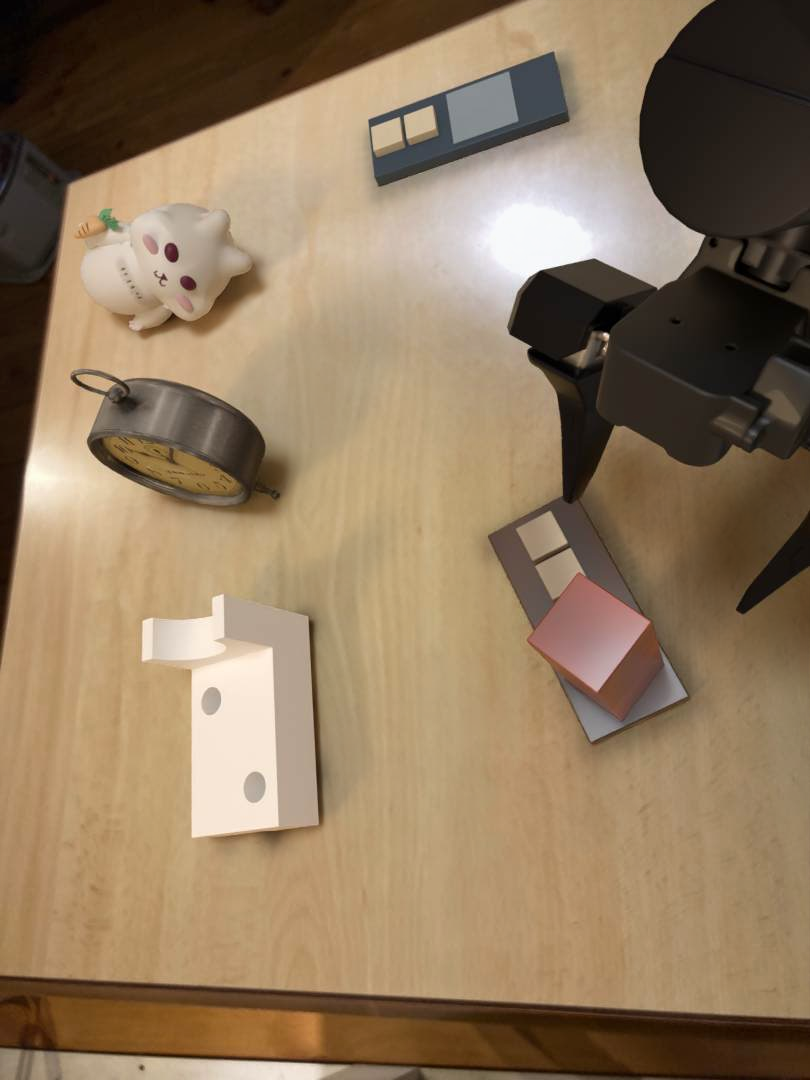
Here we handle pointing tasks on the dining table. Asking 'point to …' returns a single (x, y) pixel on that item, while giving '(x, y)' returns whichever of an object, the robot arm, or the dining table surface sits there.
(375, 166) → the board
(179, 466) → the alarm clock
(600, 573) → the board
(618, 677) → the terracotta brick
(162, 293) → the cat figurine
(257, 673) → the bracket
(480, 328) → the dining table surface
